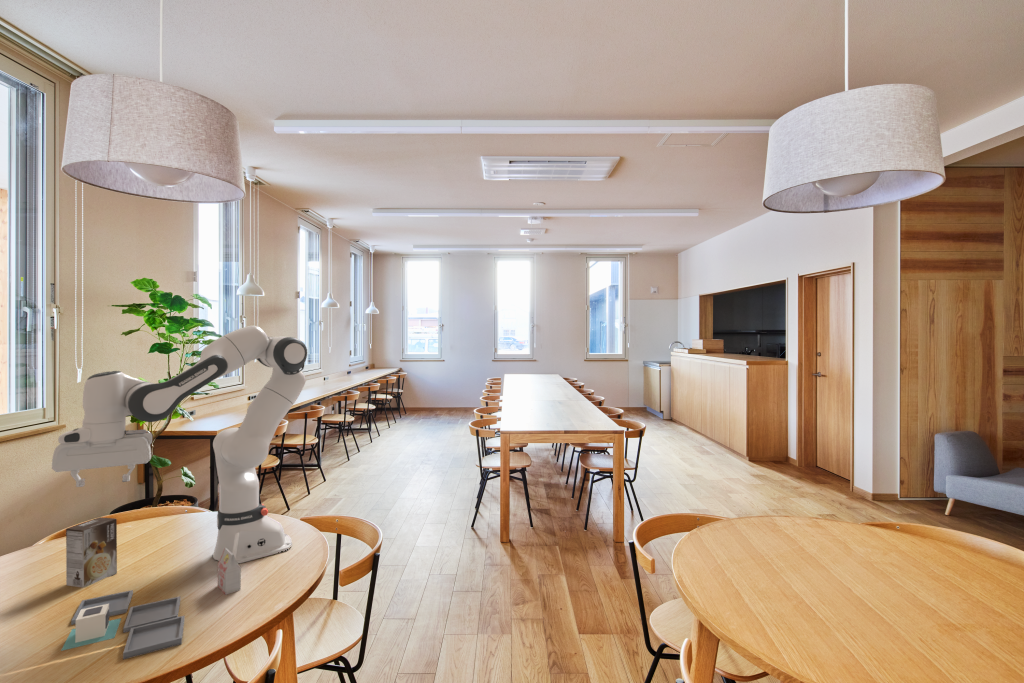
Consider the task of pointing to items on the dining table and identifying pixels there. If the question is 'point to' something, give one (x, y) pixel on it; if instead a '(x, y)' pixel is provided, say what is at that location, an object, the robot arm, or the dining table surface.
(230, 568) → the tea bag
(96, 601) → the dish
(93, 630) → the white cube
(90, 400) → the robot arm
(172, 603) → the dish
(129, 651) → the dish
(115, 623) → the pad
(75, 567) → the coffee box
